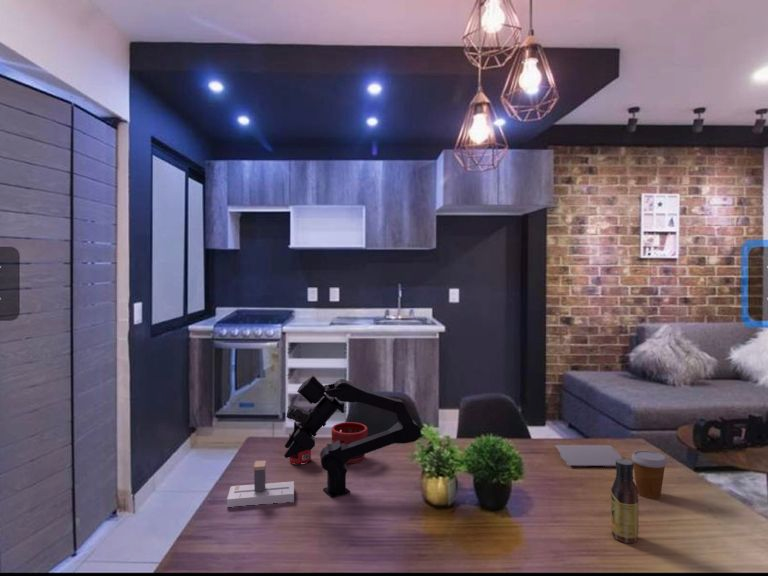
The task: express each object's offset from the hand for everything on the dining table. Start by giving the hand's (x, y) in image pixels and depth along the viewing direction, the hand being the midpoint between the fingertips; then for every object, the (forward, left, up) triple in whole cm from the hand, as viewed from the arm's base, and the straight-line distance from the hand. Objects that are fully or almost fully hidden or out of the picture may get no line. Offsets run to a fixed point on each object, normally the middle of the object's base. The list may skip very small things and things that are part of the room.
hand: (285, 452), depth 147 cm
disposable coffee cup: (-58, -94, -14) cm, 111 cm away
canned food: (+24, -14, -14) cm, 31 cm away
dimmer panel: (+2, +7, -13) cm, 15 cm away
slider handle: (+3, +7, -10) cm, 13 cm away
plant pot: (+16, -30, -14) cm, 37 cm away
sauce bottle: (-69, -64, -14) cm, 95 cm away
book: (-30, -104, -14) cm, 109 cm away
